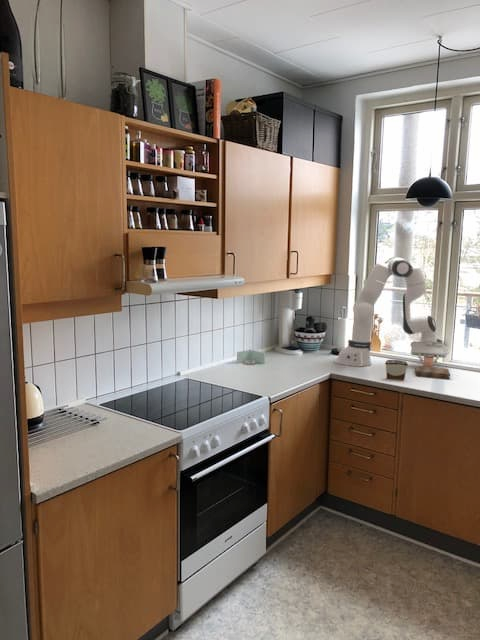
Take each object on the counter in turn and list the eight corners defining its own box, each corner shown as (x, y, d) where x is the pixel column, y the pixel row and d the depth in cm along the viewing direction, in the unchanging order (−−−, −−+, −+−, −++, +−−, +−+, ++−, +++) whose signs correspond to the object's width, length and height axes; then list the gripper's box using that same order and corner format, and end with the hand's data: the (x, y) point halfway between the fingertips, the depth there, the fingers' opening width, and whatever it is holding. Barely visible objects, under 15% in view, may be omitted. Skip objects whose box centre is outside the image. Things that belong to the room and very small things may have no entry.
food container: (404, 377, 285) (405, 360, 284) (406, 380, 279) (408, 362, 278) (381, 376, 286) (383, 358, 285) (383, 379, 280) (385, 361, 279)
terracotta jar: (423, 370, 304) (424, 355, 303) (422, 368, 310) (423, 353, 309) (433, 371, 303) (434, 356, 302) (432, 369, 308) (433, 354, 307)
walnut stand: (415, 376, 289) (416, 371, 289) (414, 370, 302) (414, 366, 301) (449, 379, 285) (450, 374, 284) (447, 373, 297) (447, 368, 297)
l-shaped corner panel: (236, 364, 306) (237, 352, 305) (249, 361, 315) (250, 349, 314) (251, 368, 298) (252, 355, 297) (264, 364, 307) (265, 352, 306)
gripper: (411, 338, 314) (410, 357, 306) (446, 341, 309) (447, 360, 301) (410, 344, 319) (409, 362, 311) (445, 347, 314) (445, 366, 306)
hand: (428, 361), depth 306 cm, fingers open, 7 cm apart
